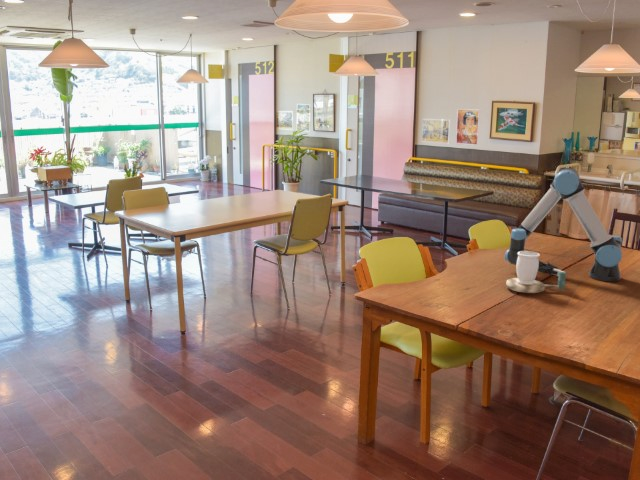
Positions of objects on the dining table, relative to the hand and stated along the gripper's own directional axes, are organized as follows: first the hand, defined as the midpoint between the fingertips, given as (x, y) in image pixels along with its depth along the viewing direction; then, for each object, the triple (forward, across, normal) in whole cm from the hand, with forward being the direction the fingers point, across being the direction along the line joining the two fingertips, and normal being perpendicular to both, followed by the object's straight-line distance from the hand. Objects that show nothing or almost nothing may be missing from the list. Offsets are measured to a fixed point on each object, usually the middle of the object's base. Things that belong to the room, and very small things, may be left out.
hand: (563, 274), depth 299 cm
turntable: (-5, +13, -7) cm, 15 cm away
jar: (-8, +16, -5) cm, 19 cm away
